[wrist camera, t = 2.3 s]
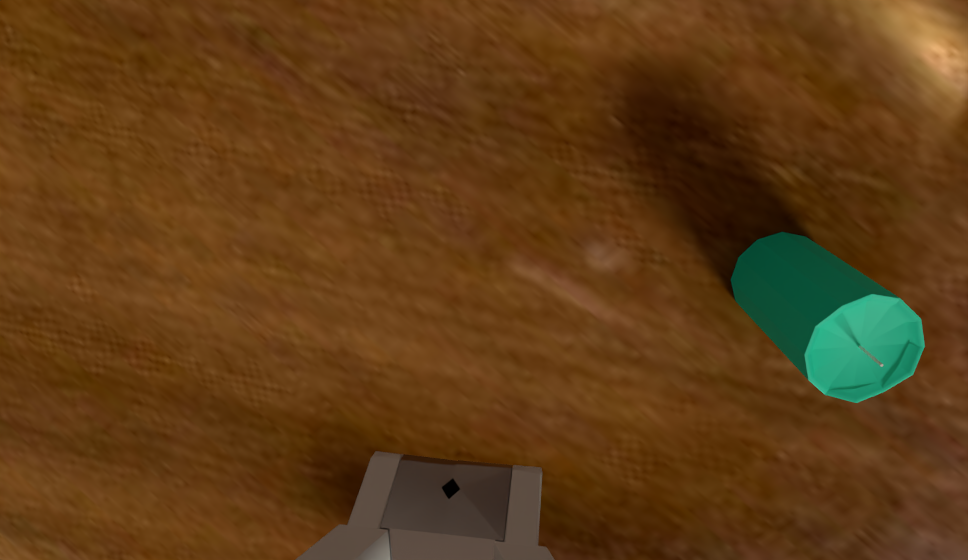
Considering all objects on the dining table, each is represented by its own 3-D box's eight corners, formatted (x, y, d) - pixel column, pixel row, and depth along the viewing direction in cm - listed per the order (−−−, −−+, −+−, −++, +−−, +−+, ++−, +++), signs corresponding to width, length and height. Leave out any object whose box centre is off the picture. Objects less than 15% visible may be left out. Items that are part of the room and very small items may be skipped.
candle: (714, 264, 43) (797, 349, 32) (801, 213, 42) (919, 283, 31) (755, 335, 45) (847, 440, 34) (840, 288, 44) (964, 380, 33)
